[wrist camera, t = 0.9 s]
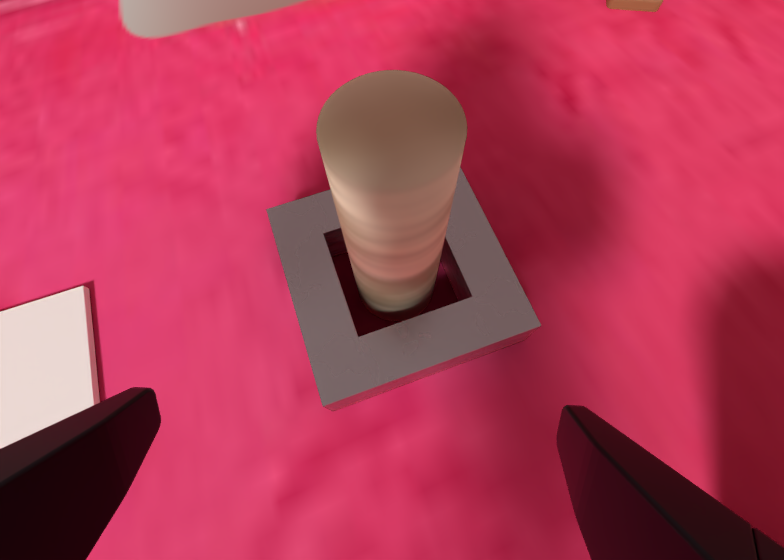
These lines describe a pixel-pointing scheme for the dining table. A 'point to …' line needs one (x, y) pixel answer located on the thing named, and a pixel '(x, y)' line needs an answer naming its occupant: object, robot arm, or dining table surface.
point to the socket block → (410, 337)
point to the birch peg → (393, 182)
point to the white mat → (46, 363)
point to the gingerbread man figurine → (635, 5)
